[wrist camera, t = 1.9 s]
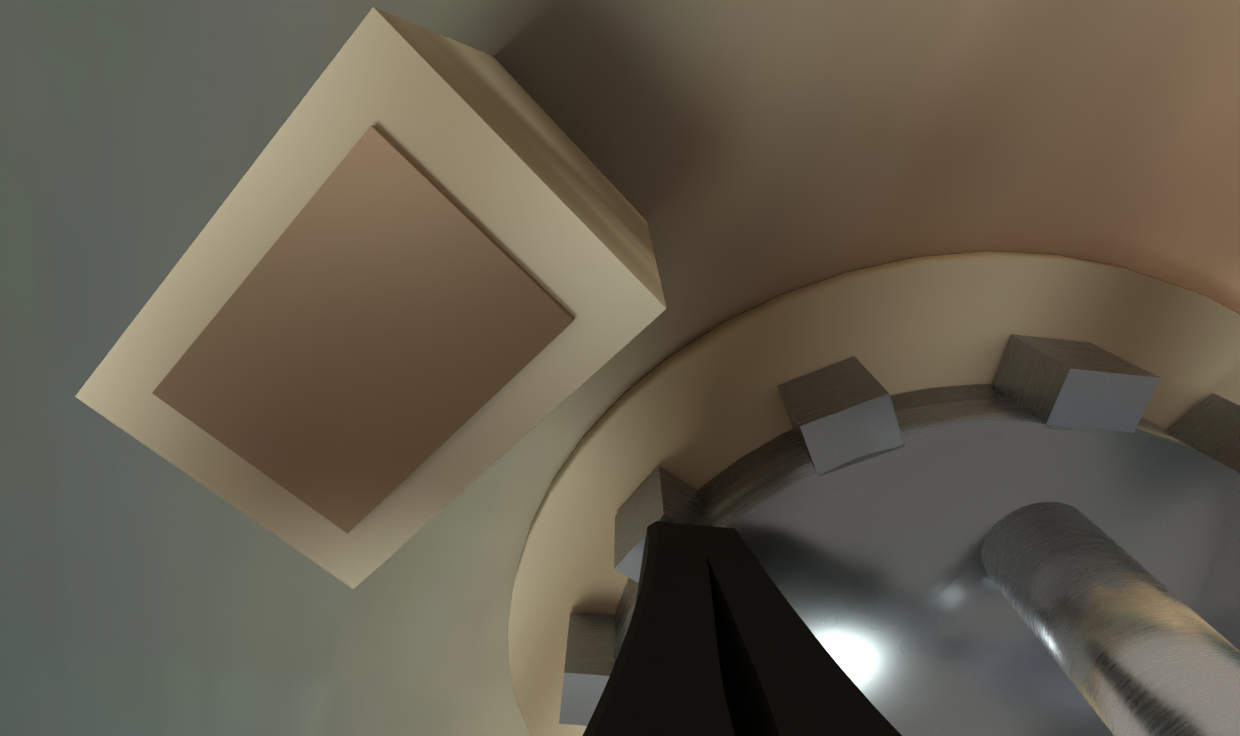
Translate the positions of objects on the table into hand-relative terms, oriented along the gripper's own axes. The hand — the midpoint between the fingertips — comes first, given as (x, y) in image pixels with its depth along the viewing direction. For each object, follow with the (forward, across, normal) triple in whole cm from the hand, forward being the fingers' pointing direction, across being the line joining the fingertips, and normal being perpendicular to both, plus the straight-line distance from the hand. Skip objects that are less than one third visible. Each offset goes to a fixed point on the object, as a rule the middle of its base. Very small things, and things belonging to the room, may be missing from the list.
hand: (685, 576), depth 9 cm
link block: (+3, +4, -4) cm, 6 cm away
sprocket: (+3, -6, +4) cm, 8 cm away
